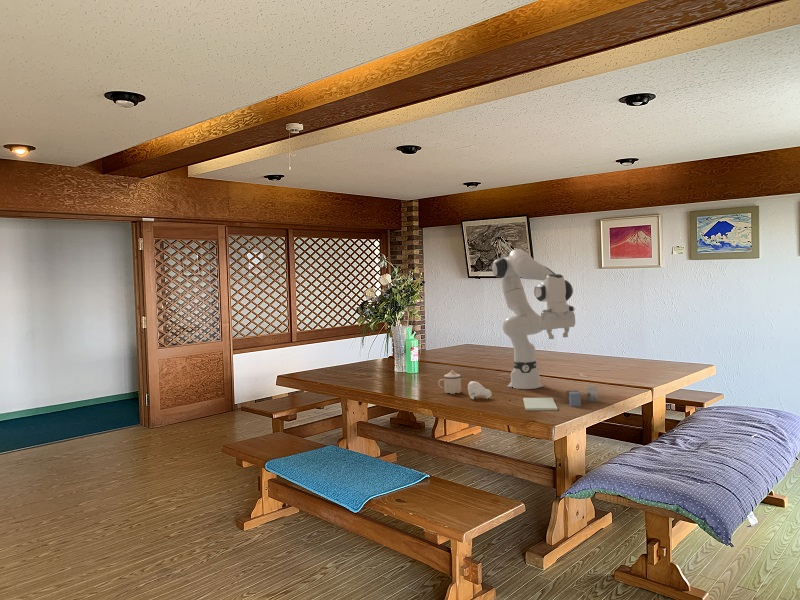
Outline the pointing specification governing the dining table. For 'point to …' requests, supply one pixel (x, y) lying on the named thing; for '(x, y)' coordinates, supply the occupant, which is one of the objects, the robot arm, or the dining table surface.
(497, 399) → the dining table surface
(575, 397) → the slate blue block
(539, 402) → the sage board
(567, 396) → the walnut block
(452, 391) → the teacup with lid
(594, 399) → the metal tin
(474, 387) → the white figurine
